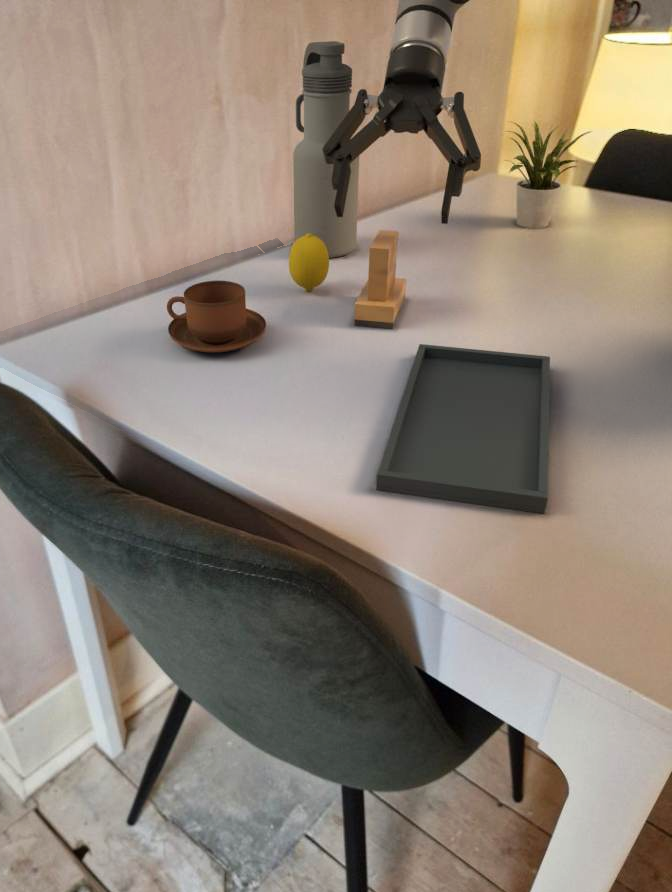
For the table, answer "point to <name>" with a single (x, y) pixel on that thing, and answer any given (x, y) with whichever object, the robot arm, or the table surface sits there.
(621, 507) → the table surface
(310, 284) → the lemon
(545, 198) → the house plant
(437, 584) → the table surface
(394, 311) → the wooden block on base
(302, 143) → the water bottle
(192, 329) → the cup and saucer
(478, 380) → the tray
